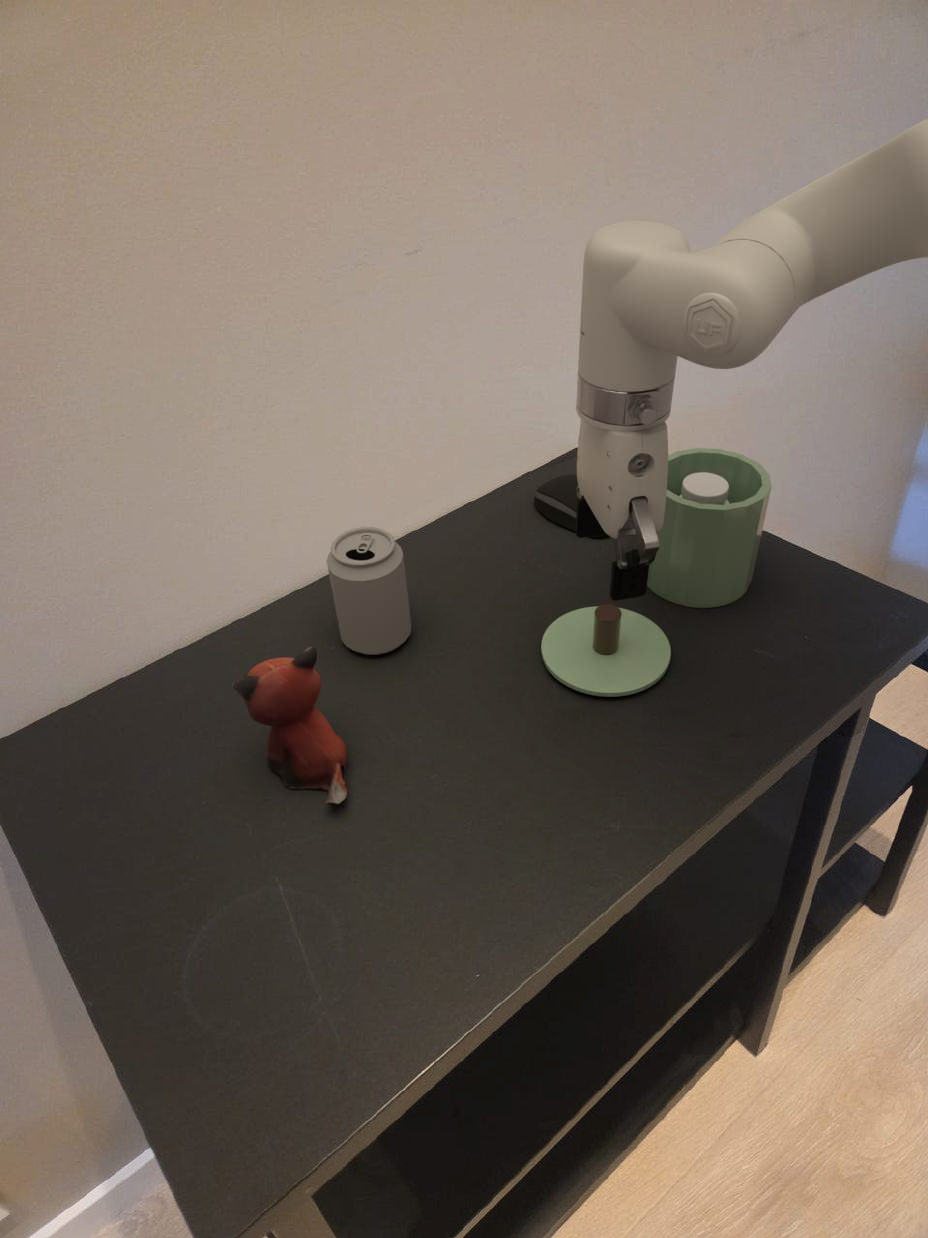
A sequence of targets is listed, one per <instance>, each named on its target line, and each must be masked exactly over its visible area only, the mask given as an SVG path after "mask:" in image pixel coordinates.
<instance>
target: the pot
mask: <svg viewBox="0 0 928 1238" xmlns="http://www.w3.org/2000/svg"><path fill="white" fill-rule="evenodd" d="M700 472H705V473H712V474H716V475H719V476H721V477H723V478H724V479H725V480H726V481H727V482H728V484H729V490H728V495H727V501H728V502H729V503H730V504H725V505H716V504H701V503H697V502H694V501H690V500H686V499H683V498H681V497H679V496H680V495H681V489H682V483H683V480H684V479H685V478H686V477H687V476H688V475H690V474H693V473H700ZM772 488H773V487H772V481H771V475H770V473H769V471H767V470H766V469H765V468H764V467H763V466H762V465H761V464H760V462H758V461H756V460H754V459H752V458H749V457H748V456H746V455H744V454H742V453H738V452H734V451H730V450H726V449H722V448H707V447H705V448H704V447H702V448H701V447H695V448H689V449H683V450H677V451H674V452H672V453H670V454H668V477H667V492H666V504H665V514H664V522H663V527H662V529H661V531H660V532H656V533H657V536H658V539H659V543H660V547H659V549H658V551H657V553H656V557H655V560H654V561H653V562H652V564H650V565H649V573H648V580H647V588H648V589H650V591H651V592H653V593H654V594H655V595H657V596H659V598H662V599H663V600H665V601H668V602H670V603H673V604H676V605H679V606H683V607H688V608H697V609H709V608H710V609H711V608H717V607H722V606H727V605H729V604H732V603H734V602H736V601H738V600H739V599H741V598H742V597H743V596H744V595H745V594H746V593H747V591H748V590H749V589H750V585H751V583H752V581H753V576H754V571H755V567H756V563H757V557H758V552H759V549H760V543H761V539H762V533H763V530H764V529H763V528H764V524H765V520H766V515H767V510H768V506H769V501H770V496H771V492H772Z"/></svg>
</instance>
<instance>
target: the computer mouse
mask: <svg viewBox="0 0 928 1238" xmlns="http://www.w3.org/2000/svg"><path fill="white" fill-rule="evenodd" d="M577 487H578V481H577V473H576V474H575V473H569V474H563V475H560V476H556V477H554V478H552V479H550V480H548V481H546V482H544V483H542V484H541V485H540V486H539V487H538V488H537V489H536V491H535V493H534V495H533V503H534V506H535V508H536V509H537V511H539V513H540V514H541V515H542V516H544V517H545V518H546V519H548V520H549V521H551V522H552V523H555V524H557V525H558V526H561V527H563V528H566V529H568V530H570V531H573V532H575V533H576V515H577V500H583V498H582V499H579V498H578V495H577ZM607 537H610V536H609V535H608V534H603V535H597V536H590V538H593V539H603V538H607Z"/></svg>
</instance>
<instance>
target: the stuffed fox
mask: <svg viewBox="0 0 928 1238" xmlns="http://www.w3.org/2000/svg"><path fill="white" fill-rule="evenodd" d="M317 660H318V654H317V648H316V646H313V645H312V646H309V647H307V648H306V649H305V650H304V651H302V652H300V653H298V654H297V655H296V656H295V658H294V657H276V658H271V659H267V660H263V661H261V662H259V663H257V664H256V665H255V666H253V667H252V668H251V669H250V670H249V671H248V673H247V675H244V676H240V677H238V678H236V680H235V681H234V682H232V684H231V689H233V690H234V691H235V692H237V693H238V695H239V696H240V697H241V698H242V699H243V702H244V703H245V706H246V708H247V711H248V714H249V716H250V718H251V720H253V721H254V722H256V723H259V724H260V725H264V726H269V727H271V728H270V732H269V735H268V741H267V763H266V764H265V765H266V766H267V768H270V769H271V770H272V771H273V772H275V773H276V775H278V776H279V777H280V779H281V781H282V784H283V786H284V787H287V788H288V789H290V790H293V789H297V790H306V789H310V790H324V791H327V794H326V799H325V802H324V804H325V805H326V804H333V805H334V804H335V805H339V804H341V803H342V802H343V801H345V800H346V798H347V795H348V791H349V790H348V788H347V786H346V785H345V784H346V782H345V780H344V778H343V771H342V767H343V769H344V770H346V764H347V762H348V759H347V756H348V755H347V754H348V753H347V748H346V744H345V741H344V739H343V738H342V737H341V736H340V735H339V734H338V733H337V731H335V730H334V728H333V727H332V726H331V723H329V721H328V720H327V718H326V717H325V715H324V714H323V713H322V712H321V710H320V709H319V708H318V707H316V703H317V701H318V698H319V696H320V692H321V689H322V680H321V679H322V678H321V676H320V674H319V672H317V669H315V665H316V664H317Z"/></svg>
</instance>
